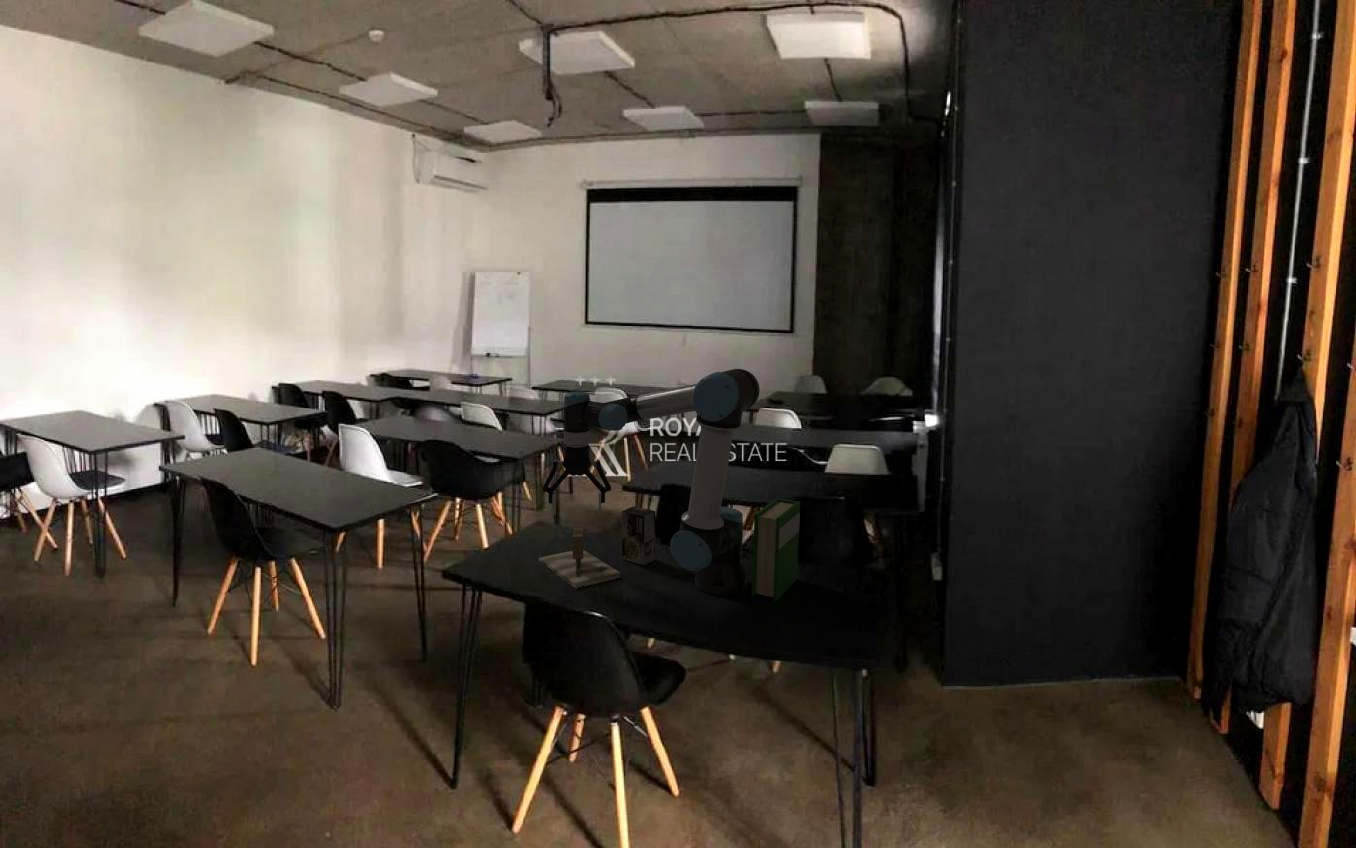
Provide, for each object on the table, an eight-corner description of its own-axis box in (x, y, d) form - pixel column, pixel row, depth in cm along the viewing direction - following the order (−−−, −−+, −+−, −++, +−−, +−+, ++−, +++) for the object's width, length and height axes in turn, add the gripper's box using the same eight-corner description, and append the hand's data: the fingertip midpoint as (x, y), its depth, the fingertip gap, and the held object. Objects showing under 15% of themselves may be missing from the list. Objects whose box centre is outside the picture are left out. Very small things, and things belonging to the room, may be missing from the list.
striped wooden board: (620, 577, 228) (620, 571, 228) (575, 588, 220) (575, 582, 219) (581, 553, 248) (581, 547, 247) (538, 562, 239) (538, 557, 239)
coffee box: (656, 559, 243) (656, 510, 240) (644, 565, 238) (644, 515, 234) (632, 553, 248) (633, 505, 245) (620, 559, 242) (620, 510, 239)
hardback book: (776, 601, 213) (779, 518, 209) (751, 595, 217) (754, 514, 212) (796, 579, 229) (800, 501, 224) (773, 574, 232) (776, 498, 227)
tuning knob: (573, 559, 237) (573, 528, 235) (583, 559, 237) (583, 527, 235) (572, 575, 225) (571, 542, 223) (582, 575, 225) (582, 542, 223)
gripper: (619, 441, 231) (618, 509, 235) (535, 441, 228) (535, 509, 233) (619, 447, 224) (619, 517, 228) (532, 447, 221) (533, 517, 225)
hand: (577, 513), depth 230 cm, fingers open, 13 cm apart
